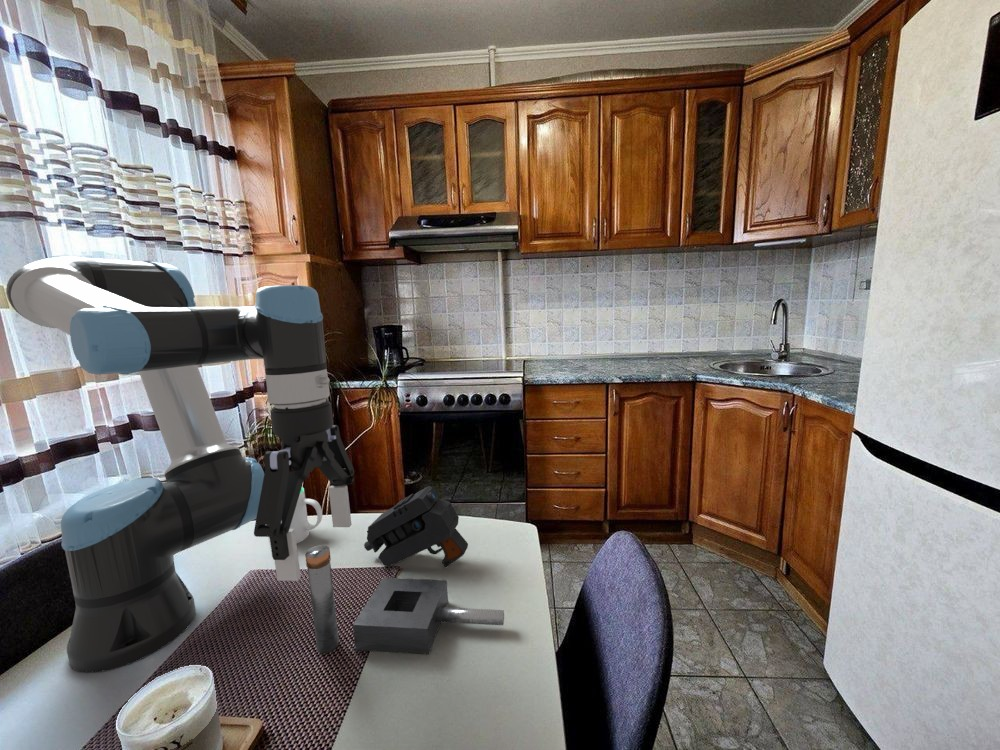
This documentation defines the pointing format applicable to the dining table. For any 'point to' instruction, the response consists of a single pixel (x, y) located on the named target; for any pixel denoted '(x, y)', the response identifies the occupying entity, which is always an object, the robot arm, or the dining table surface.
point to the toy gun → (417, 529)
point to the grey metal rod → (322, 598)
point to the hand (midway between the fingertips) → (318, 549)
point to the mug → (303, 517)
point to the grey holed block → (411, 616)
